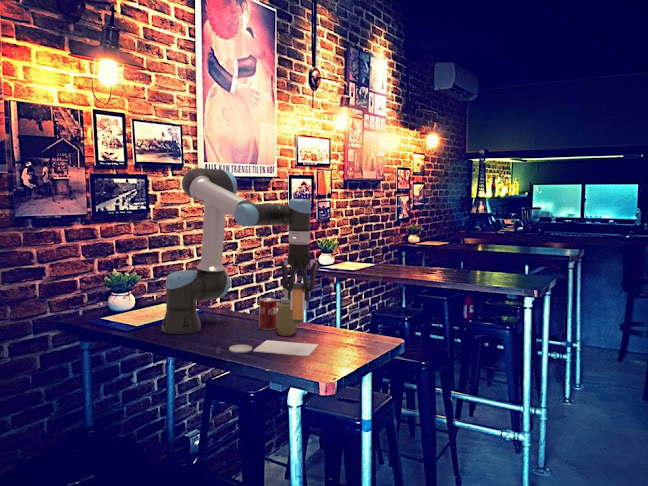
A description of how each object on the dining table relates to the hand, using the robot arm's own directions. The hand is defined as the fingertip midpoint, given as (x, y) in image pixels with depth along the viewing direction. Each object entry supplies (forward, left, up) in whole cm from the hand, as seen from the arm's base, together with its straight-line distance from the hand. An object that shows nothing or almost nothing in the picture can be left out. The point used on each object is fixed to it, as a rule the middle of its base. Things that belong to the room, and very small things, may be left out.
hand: (298, 309), depth 189 cm
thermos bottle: (0, 0, -4) cm, 4 cm away
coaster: (-19, -6, -14) cm, 25 cm away
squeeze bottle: (-10, +19, -15) cm, 26 cm away
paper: (-4, 0, -14) cm, 15 cm away
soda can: (-20, +26, -15) cm, 36 cm away
